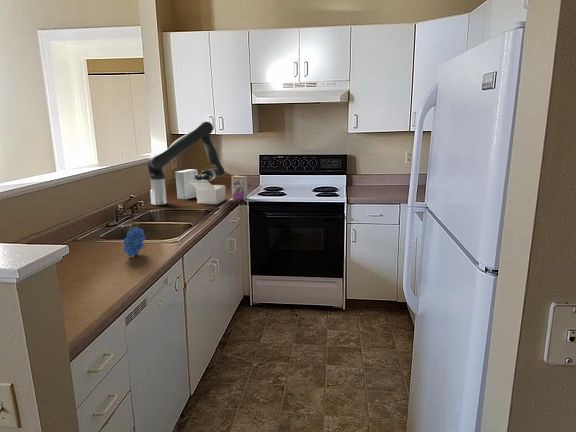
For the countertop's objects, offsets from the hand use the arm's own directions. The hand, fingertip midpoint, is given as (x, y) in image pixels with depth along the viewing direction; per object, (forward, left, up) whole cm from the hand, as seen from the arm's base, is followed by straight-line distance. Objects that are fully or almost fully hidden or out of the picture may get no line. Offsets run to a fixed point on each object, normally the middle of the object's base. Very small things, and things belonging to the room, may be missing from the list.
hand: (197, 178), depth 268 cm
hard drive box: (+17, +37, -19) cm, 45 cm away
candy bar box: (+38, +4, -19) cm, 43 cm away
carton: (+18, +11, -19) cm, 28 cm away
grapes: (-77, -58, -19) cm, 99 cm away
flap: (+11, +6, -9) cm, 15 cm away
